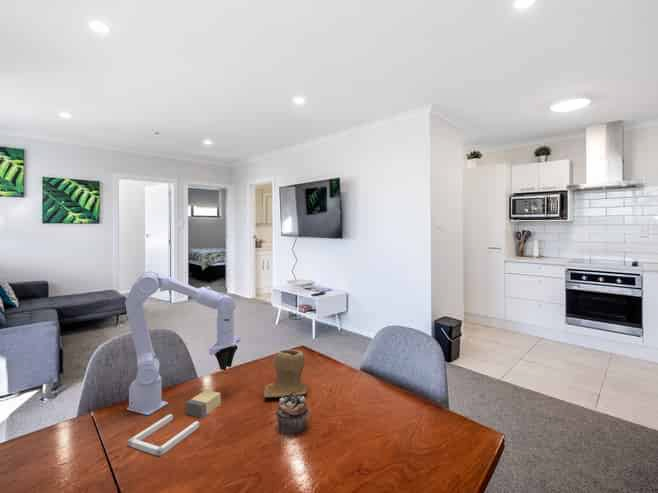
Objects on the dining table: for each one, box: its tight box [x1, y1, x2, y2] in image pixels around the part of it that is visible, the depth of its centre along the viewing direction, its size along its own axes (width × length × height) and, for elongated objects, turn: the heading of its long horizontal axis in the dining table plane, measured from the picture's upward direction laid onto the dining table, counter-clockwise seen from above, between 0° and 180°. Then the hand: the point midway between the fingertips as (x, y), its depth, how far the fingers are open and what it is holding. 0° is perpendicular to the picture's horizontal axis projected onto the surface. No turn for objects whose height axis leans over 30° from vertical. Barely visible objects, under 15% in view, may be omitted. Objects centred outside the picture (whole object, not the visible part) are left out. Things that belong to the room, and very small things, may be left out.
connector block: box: [185, 389, 222, 419], centre depth 111 cm, size 6×9×4 cm
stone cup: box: [263, 349, 308, 399], centre depth 123 cm, size 15×12×15 cm
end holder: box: [127, 413, 200, 457], centre depth 97 cm, size 11×14×2 cm
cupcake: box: [275, 392, 309, 436], centre depth 102 cm, size 10×10×10 cm
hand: (225, 367), depth 121 cm, fingers open, 2 cm apart
